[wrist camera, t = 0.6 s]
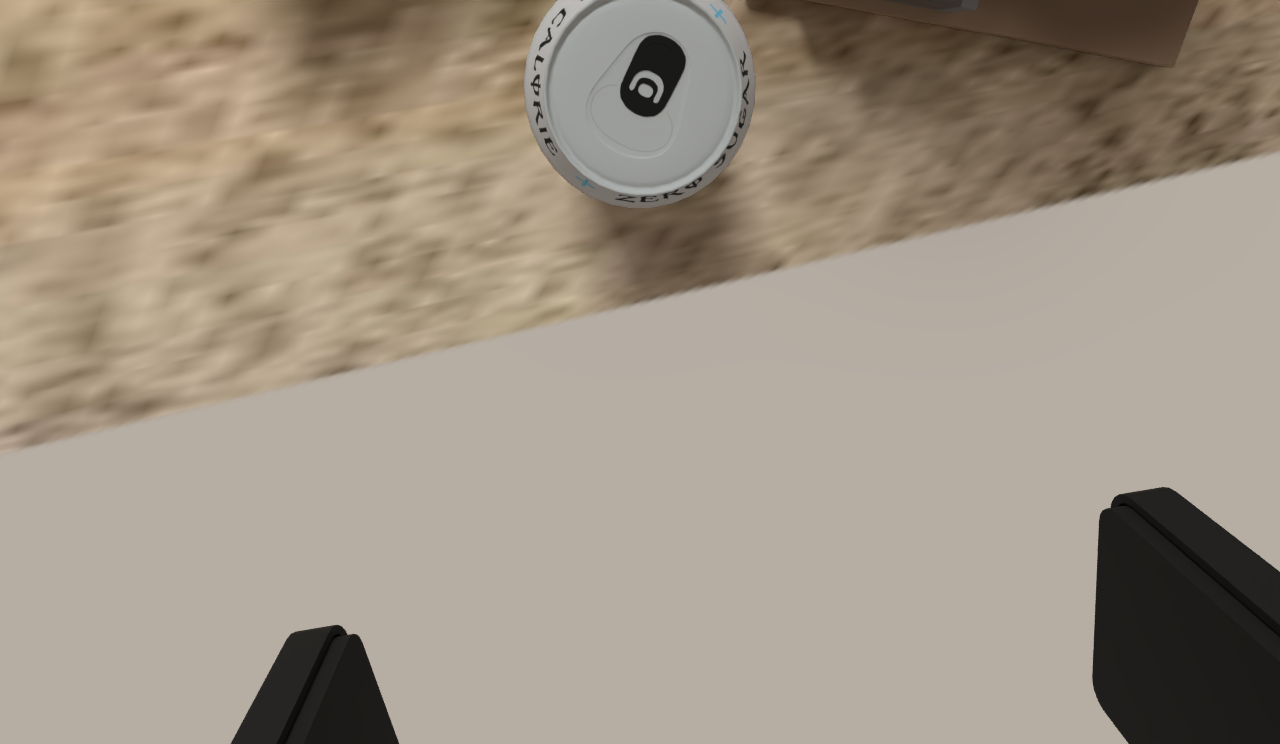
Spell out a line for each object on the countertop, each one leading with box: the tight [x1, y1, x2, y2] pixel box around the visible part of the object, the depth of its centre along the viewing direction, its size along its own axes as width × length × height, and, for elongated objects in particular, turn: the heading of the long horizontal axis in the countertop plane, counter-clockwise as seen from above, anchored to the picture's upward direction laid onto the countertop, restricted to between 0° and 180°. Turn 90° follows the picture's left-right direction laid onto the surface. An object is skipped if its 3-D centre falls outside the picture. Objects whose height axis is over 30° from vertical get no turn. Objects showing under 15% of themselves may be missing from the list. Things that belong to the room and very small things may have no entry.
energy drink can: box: [524, 0, 755, 208], centre depth 27 cm, size 6×6×15 cm
